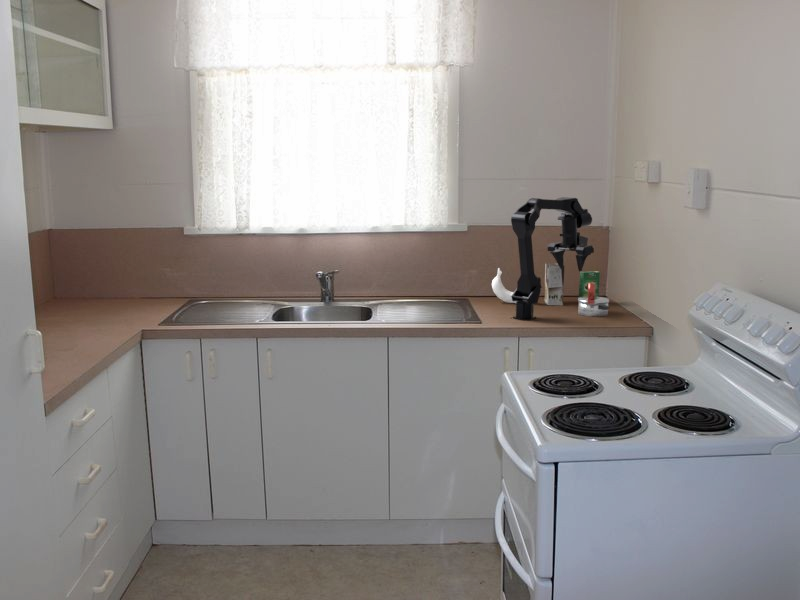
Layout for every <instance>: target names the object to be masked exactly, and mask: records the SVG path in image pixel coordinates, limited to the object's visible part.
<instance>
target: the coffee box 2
mask: <svg viewBox="0 0 800 600" xmlns="http://www.w3.org/2000/svg"><path fill="white" fill-rule="evenodd" d="M600 278H601V272H600V271H596V270H594V271H580V274H579V285H578V298H579V297H587V296H588V283H595V296H596V297H600V296H599V295H600V292H599V291H600V283H601V282H600V280H601V279H600Z"/></svg>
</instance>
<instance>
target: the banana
mask: <svg viewBox="0 0 800 600" xmlns="http://www.w3.org/2000/svg"><path fill="white" fill-rule="evenodd" d="M502 273H503V272H502V270H501V269H500V267H498V268H497V273H496V276H495V277H494V278H493V279H492V280H491V281H492V282H491V288H492V291H493V293H494V294H495V295H496V297H497V298H498V299H500V300H501V301H503V302H505V303H508V304H516V302H517V301H512V297H511V296H512V294H513V293H514V291H510V290H508V289H506V287H505V286H504V285H503V282H502V280H501V279H502V278H501V275H502ZM525 298H528V297H525Z"/></svg>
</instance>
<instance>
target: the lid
mask: <svg viewBox="0 0 800 600" xmlns="http://www.w3.org/2000/svg"><path fill="white" fill-rule="evenodd" d="M577 302H578V303H579V302H581V303H586V304H606V303H608V304H609V303H610V299H609V298H608V297H603V296H599V297H596V296H595V283H588V296H587V297H579V296H578V298H577Z"/></svg>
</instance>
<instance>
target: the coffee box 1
mask: <svg viewBox="0 0 800 600" xmlns="http://www.w3.org/2000/svg"><path fill="white" fill-rule="evenodd" d="M544 266H545V267H544V303H545V304H546V305H548V306H563V305H564V289H565V288H564V287H565V286H564V285H565V284H564V282H565V266H566V265H564V264H563V269H560V267H559V265H558V263H557V262H549V263H548V262H545V265H544Z"/></svg>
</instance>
